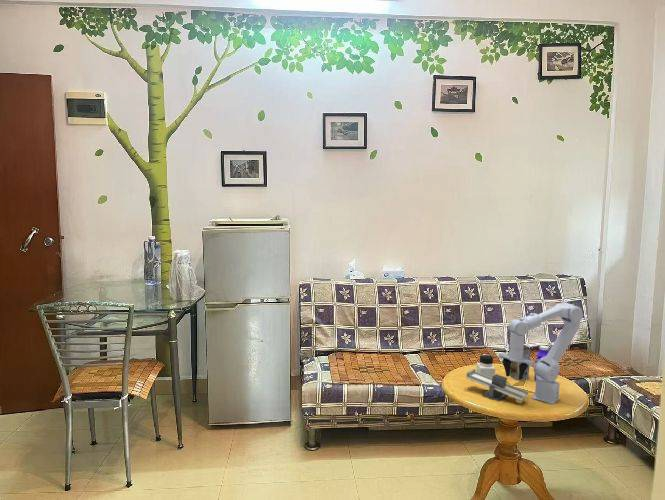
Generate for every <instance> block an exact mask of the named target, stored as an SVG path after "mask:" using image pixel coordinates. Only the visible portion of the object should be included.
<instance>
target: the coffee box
mask: <svg viewBox="0 0 665 500" xmlns="http://www.w3.org/2000/svg"><path fill="white" fill-rule="evenodd" d="M509 349H510V342H509V343H508V350H509ZM531 351H532V348H531V347H530V346H528V345H527V344H524V349H523V358H526V359H528V360H531V355H532V354H531V353H532V352H531ZM520 364H521V363H518V362H514V361H511V366H510V376H509V377H511V378H513V379H515V380H517V381H520V380H519V365H520ZM529 374H530V366H528V367H527V369H526V370H525V372H524V375H523V378H522V380H521V381H526V380H529Z"/></svg>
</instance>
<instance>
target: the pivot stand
mask: <svg viewBox="0 0 665 500" xmlns="http://www.w3.org/2000/svg"><path fill="white" fill-rule="evenodd" d="M481 396H482V397H484V398H487V399H491V400H494V401H498V402H500V401H502V400H504V399H505V398H506V397H507V394H504V393H502V392H499V391H497V390H494V387H493V386H489V387H488V390H486V391H485V392H484V393H482V395H481Z"/></svg>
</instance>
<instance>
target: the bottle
mask: <svg viewBox="0 0 665 500" xmlns="http://www.w3.org/2000/svg"><path fill="white" fill-rule="evenodd" d="M538 349H539V350H538V352H537V354H536V356H537V357H536V359H535V362H534V365H535V364H536V363H537V362H538V361H539V360H540V359H541V358H542V357H545V356H547V354H548V353H549V351H550V348H549V346H547V345H539V348H538ZM549 366H550V365H549ZM533 378H534V380H535V381H536V373H535V372H534V375H533Z"/></svg>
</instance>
